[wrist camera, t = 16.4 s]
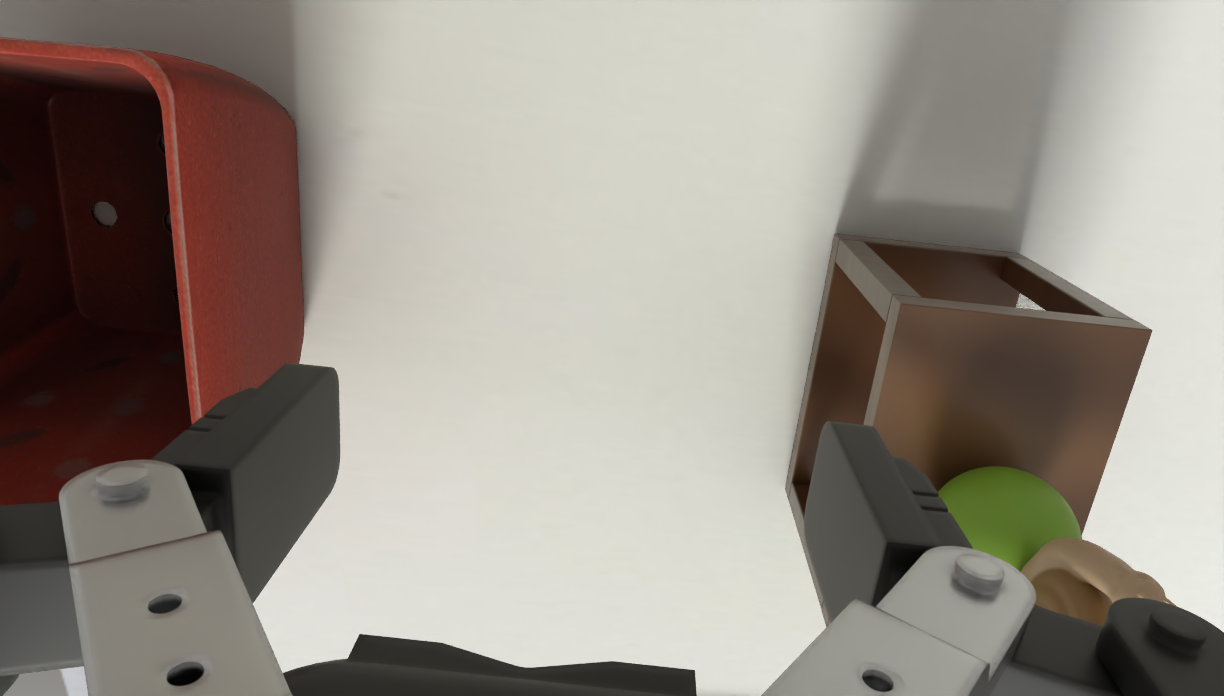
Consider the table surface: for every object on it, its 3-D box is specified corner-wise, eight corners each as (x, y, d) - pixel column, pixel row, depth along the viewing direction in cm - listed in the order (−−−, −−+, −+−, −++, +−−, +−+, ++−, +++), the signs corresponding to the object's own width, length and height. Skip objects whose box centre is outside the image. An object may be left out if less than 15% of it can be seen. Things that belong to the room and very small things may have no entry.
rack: (834, 233, 43) (917, 320, 29) (1019, 252, 43) (1185, 348, 29) (784, 489, 48) (836, 659, 35) (949, 507, 48) (1063, 684, 35)
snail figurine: (1069, 431, 33) (1289, 635, 22) (1017, 566, 35) (1191, 815, 24) (934, 409, 33) (1084, 603, 22) (890, 547, 35) (1005, 787, 24)
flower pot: (27, 370, 47) (-286, 537, 31) (-34, 8, 41) (-470, -11, 25) (361, 405, 47) (216, 590, 31) (356, 47, 40) (168, 52, 25)
